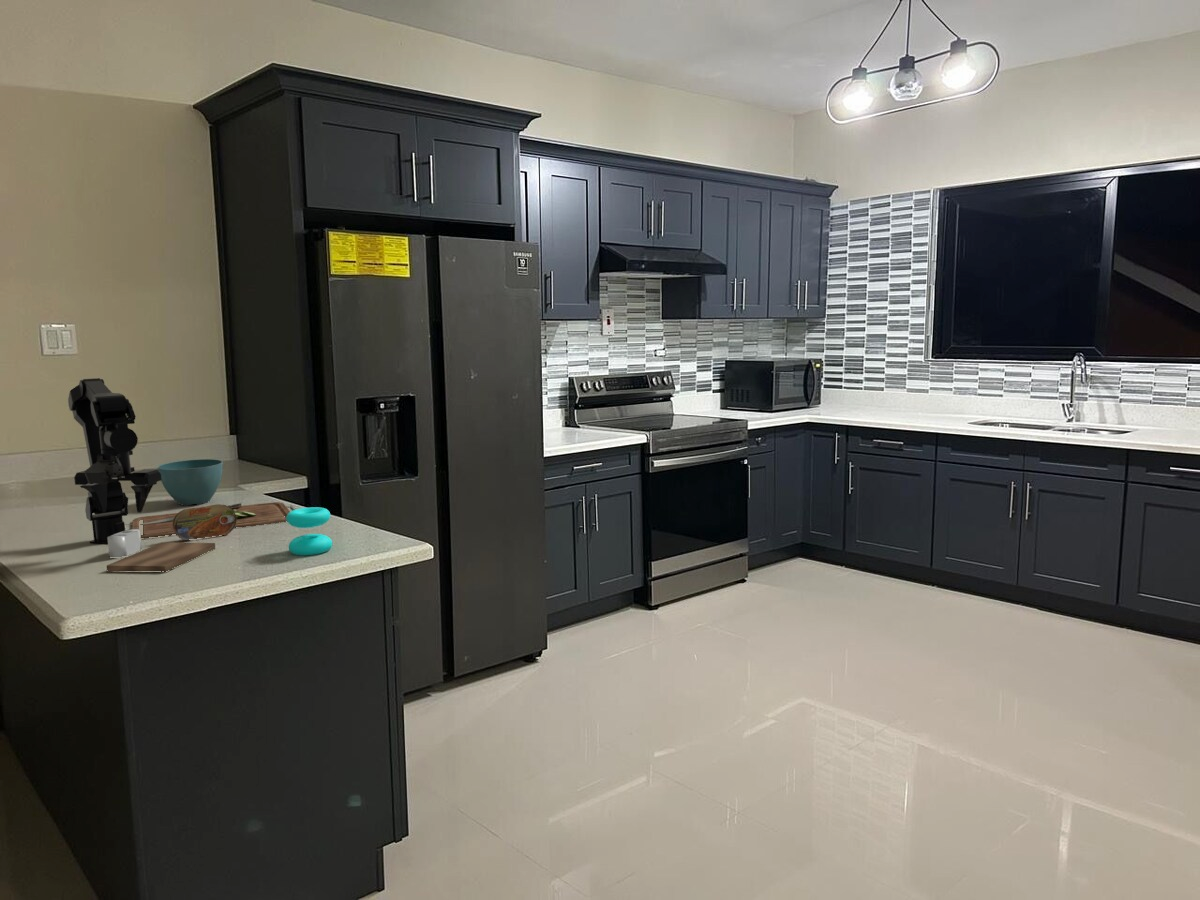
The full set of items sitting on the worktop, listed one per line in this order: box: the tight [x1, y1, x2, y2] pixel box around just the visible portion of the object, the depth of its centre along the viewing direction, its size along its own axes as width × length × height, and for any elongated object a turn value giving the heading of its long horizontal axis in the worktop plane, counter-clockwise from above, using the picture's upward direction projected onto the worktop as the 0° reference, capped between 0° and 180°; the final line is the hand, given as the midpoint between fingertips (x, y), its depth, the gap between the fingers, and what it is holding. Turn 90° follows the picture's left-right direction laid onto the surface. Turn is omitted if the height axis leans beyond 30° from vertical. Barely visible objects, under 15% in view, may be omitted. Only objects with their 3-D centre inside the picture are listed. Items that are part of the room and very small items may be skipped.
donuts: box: [286, 506, 333, 556], centre depth 205 cm, size 10×10×10 cm
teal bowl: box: [157, 458, 224, 506], centre depth 265 cm, size 18×18×12 cm
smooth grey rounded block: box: [107, 529, 143, 558], centre depth 207 cm, size 4×9×5 cm, turn 174°
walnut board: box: [106, 542, 216, 573], centre depth 201 cm, size 14×20×2 cm
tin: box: [173, 503, 237, 541], centre depth 221 cm, size 15×3×8 cm, turn 126°
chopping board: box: [124, 501, 297, 538], centre depth 241 cm, size 45×27×3 cm, turn 118°
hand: (121, 512), depth 206 cm, fingers open, 9 cm apart
